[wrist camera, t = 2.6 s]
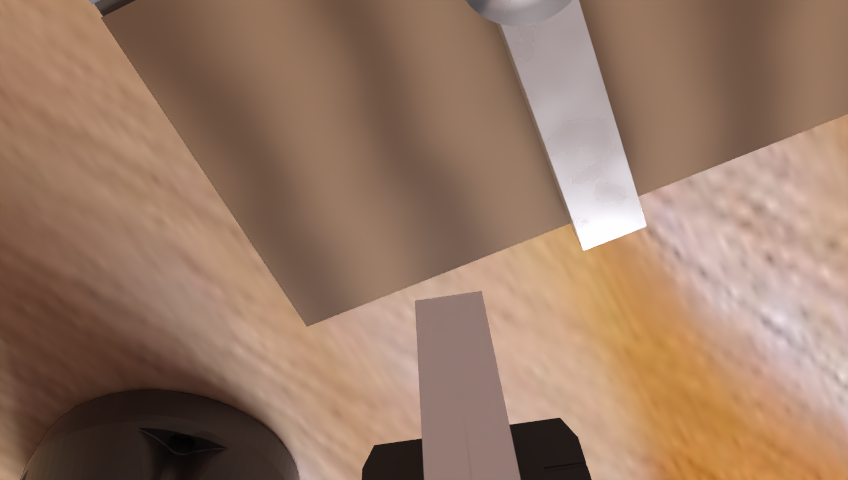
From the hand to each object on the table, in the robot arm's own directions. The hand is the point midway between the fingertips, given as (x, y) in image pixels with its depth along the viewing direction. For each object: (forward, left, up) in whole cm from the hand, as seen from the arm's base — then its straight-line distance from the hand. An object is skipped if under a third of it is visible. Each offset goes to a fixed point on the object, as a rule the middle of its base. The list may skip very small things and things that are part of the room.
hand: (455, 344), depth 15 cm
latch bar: (+5, +1, -12) cm, 13 cm away
